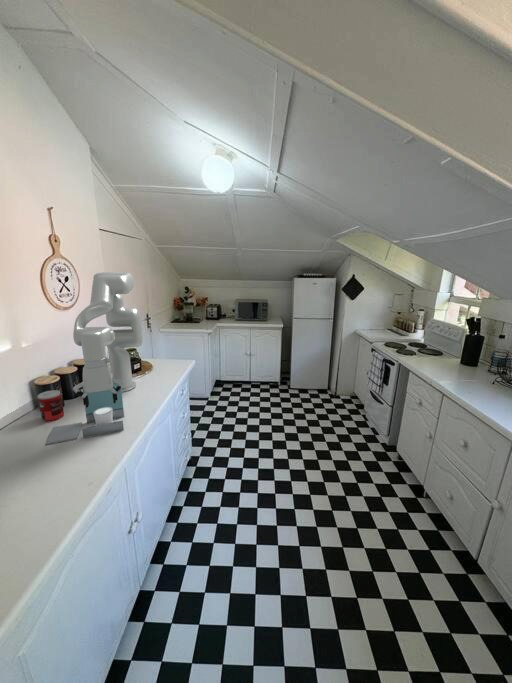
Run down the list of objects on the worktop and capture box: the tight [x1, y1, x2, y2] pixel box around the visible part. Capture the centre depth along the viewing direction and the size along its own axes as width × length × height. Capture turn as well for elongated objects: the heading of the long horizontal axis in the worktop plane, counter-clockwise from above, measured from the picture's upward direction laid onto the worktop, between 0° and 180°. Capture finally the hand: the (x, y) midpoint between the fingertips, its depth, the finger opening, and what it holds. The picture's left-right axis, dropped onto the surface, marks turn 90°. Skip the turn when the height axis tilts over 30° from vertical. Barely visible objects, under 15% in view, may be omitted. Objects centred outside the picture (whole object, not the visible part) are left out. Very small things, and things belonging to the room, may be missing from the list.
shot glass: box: [93, 407, 114, 425], centre depth 115 cm, size 7×7×7 cm
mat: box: [45, 421, 83, 446], centre depth 111 cm, size 12×10×1 cm
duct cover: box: [82, 382, 124, 415], centre depth 120 cm, size 12×14×1 cm
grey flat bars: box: [81, 407, 125, 439], centre depth 116 cm, size 12×14×4 cm
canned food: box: [37, 389, 65, 422], centre depth 121 cm, size 8×8×11 cm
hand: (101, 404), depth 113 cm, fingers open, 9 cm apart
